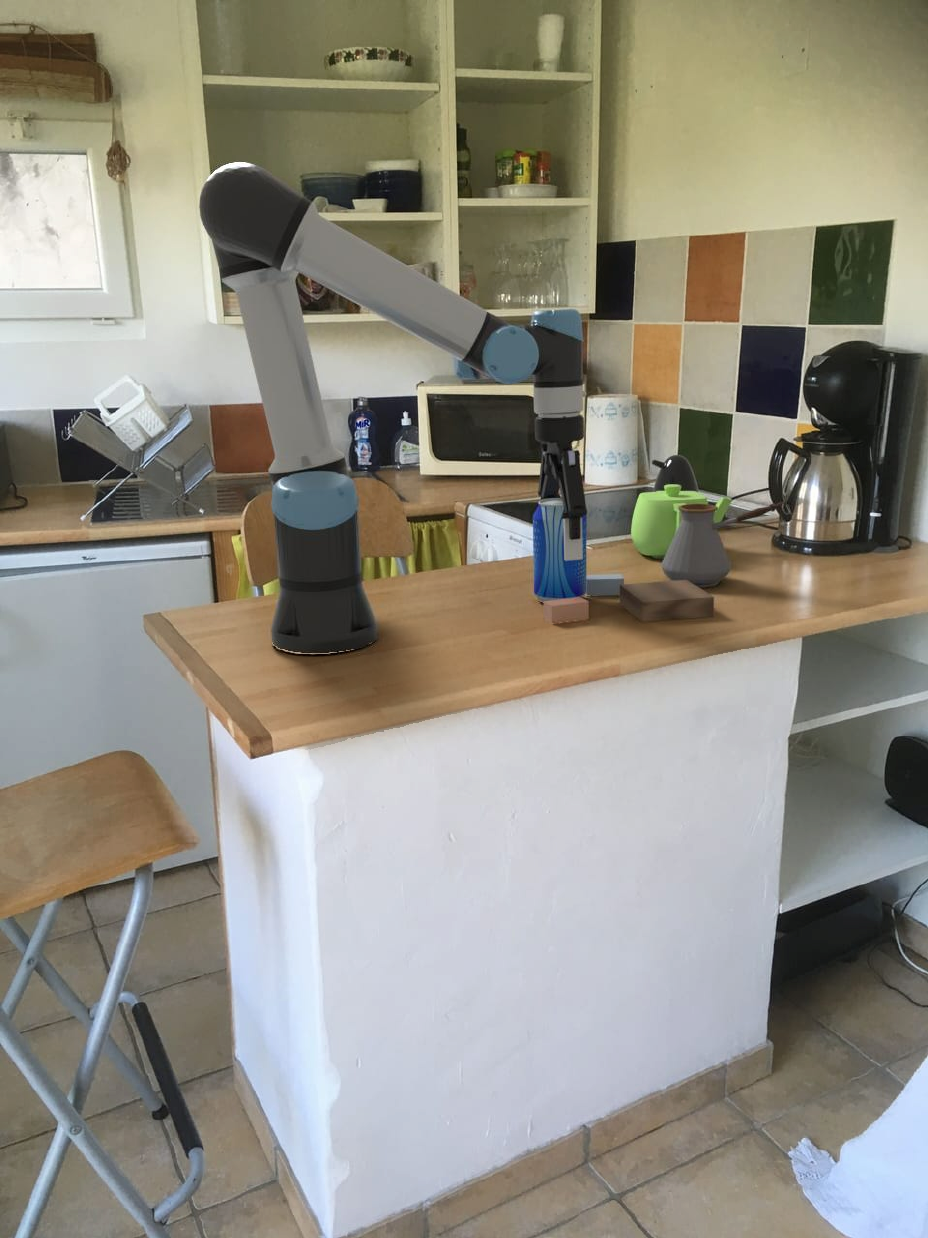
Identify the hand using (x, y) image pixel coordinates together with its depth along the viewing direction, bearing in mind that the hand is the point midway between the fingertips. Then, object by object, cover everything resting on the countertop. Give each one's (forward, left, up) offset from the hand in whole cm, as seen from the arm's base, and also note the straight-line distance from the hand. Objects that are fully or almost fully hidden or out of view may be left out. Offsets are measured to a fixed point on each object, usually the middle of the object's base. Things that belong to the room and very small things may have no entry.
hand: (562, 550), depth 162 cm
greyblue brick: (+8, +2, -8) cm, 11 cm away
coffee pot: (+28, +1, -8) cm, 29 cm away
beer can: (0, 0, -8) cm, 8 cm away
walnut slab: (+14, -10, -8) cm, 19 cm away
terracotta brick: (-2, -11, -8) cm, 14 cm away
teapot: (+31, +27, -8) cm, 42 cm away
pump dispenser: (+39, +52, -8) cm, 65 cm away
